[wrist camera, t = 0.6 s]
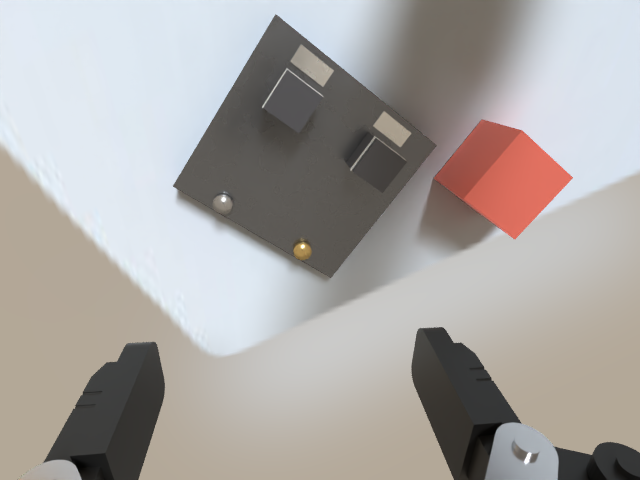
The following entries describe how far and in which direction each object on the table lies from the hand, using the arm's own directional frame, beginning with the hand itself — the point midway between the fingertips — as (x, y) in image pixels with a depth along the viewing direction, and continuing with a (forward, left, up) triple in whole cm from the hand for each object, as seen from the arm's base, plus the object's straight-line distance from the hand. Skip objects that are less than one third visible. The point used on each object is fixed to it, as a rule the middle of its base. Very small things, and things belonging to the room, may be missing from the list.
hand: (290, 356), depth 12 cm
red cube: (-10, +16, -24) cm, 30 cm away
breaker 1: (-5, -2, -22) cm, 23 cm away
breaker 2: (-5, +6, -22) cm, 23 cm away
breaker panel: (-2, +2, -24) cm, 24 cm away
